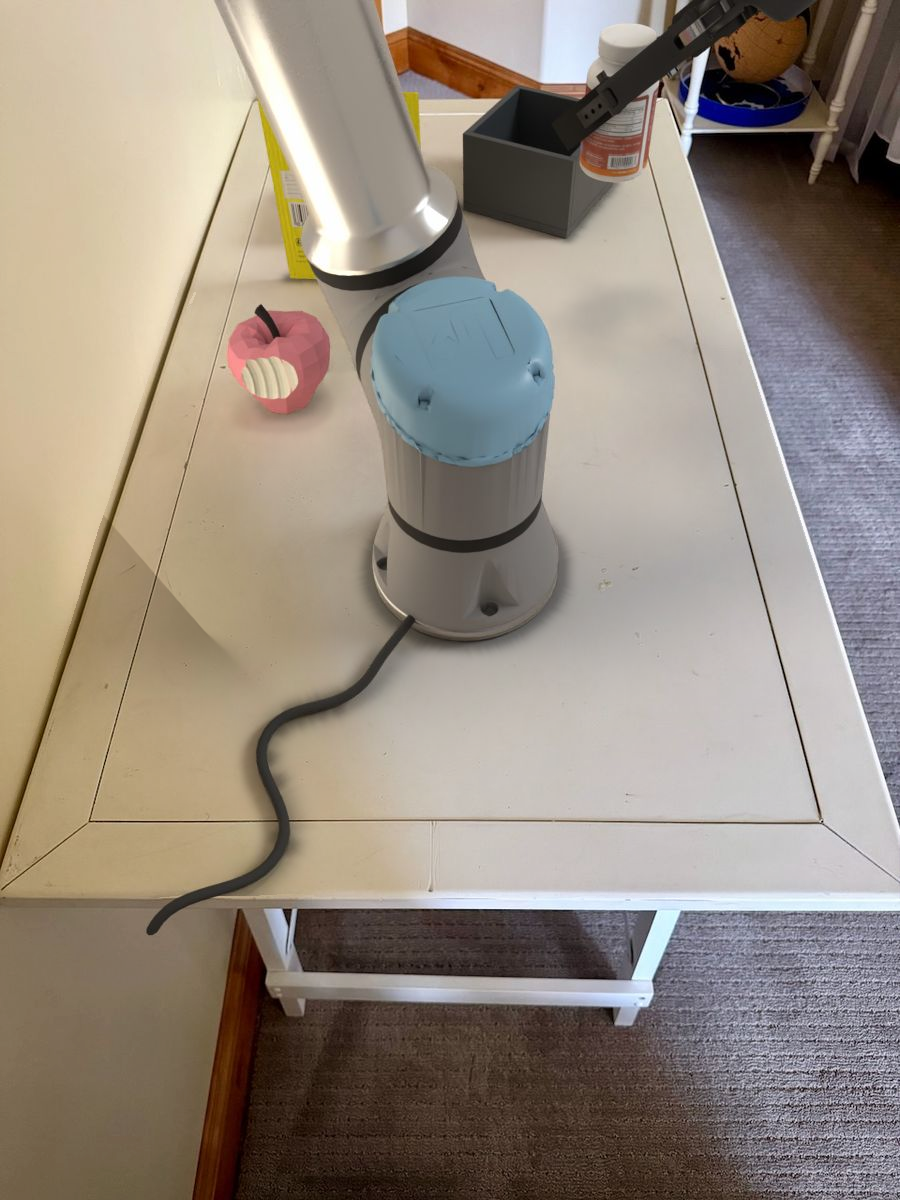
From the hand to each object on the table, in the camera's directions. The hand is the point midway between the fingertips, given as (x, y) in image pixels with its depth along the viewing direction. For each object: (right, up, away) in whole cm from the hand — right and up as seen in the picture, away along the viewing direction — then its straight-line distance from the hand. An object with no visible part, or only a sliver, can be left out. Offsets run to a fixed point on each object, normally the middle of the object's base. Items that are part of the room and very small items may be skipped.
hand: (581, 119), depth 81 cm
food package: (-22, -8, +19) cm, 30 cm away
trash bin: (-1, +6, +28) cm, 29 cm away
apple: (-27, -24, +7) cm, 37 cm away
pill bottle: (+3, -4, +2) cm, 5 cm away
